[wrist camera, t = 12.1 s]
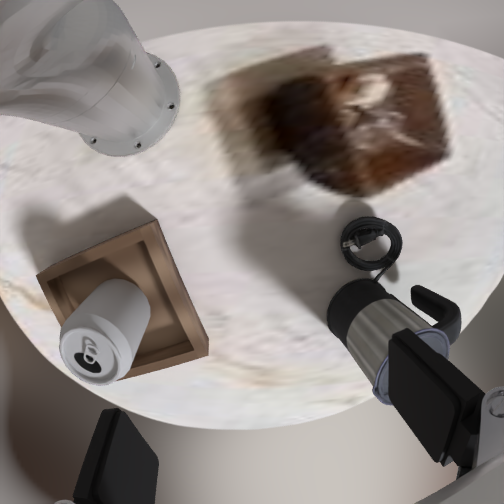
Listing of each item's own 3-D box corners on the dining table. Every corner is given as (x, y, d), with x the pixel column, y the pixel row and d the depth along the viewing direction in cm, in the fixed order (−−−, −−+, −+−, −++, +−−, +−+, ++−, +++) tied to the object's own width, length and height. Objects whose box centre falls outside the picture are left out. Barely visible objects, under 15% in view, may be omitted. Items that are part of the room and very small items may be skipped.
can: (86, 312, 34) (45, 364, 22) (108, 264, 33) (64, 305, 21) (137, 342, 35) (112, 404, 24) (162, 297, 34) (141, 352, 23)
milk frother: (345, 351, 41) (393, 419, 26) (282, 273, 36) (322, 332, 22) (419, 288, 40) (486, 331, 25) (370, 200, 36) (449, 217, 21)
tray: (50, 265, 33) (35, 275, 29) (157, 219, 33) (149, 224, 29) (105, 368, 37) (97, 385, 33) (208, 338, 37) (208, 355, 34)
